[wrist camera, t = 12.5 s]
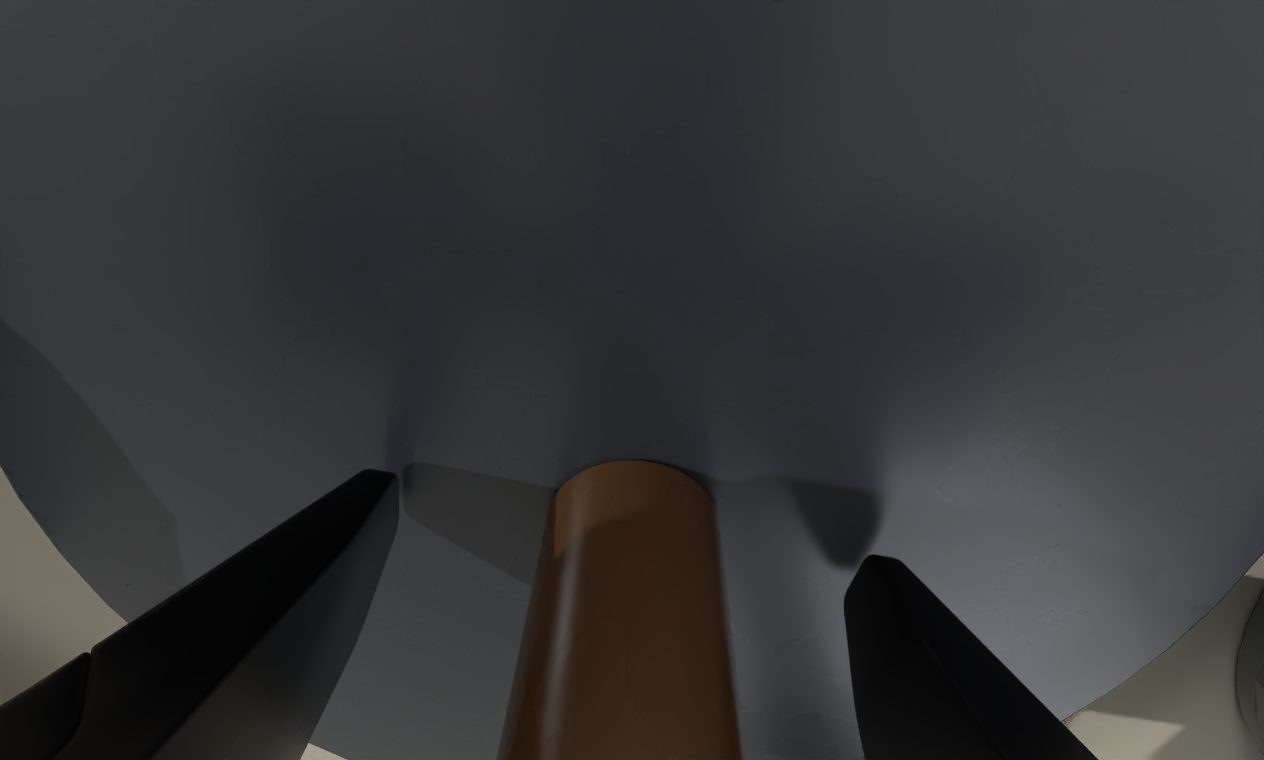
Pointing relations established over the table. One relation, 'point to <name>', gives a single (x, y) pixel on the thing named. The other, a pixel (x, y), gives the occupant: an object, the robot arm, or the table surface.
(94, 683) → the robot arm
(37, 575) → the table surface
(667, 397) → the lid
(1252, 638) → the pan
